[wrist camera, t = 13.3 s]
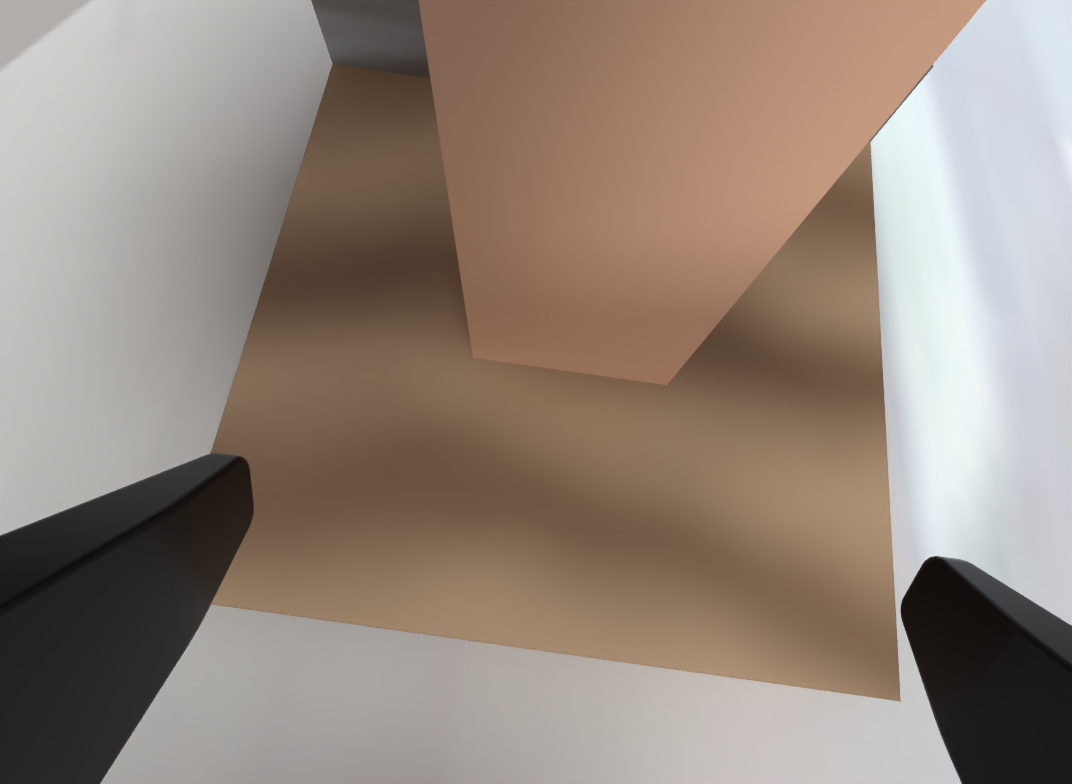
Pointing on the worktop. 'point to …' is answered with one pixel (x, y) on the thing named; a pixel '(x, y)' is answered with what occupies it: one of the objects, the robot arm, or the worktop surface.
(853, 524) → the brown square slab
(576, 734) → the worktop surface
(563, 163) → the carton
